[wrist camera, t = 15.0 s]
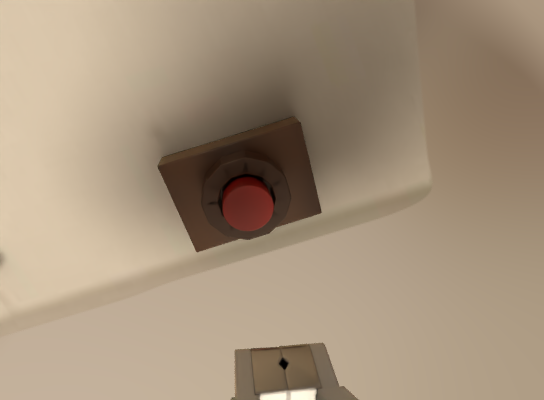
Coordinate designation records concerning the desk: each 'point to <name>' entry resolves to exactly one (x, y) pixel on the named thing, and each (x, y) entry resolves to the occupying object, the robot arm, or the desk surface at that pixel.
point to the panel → (235, 164)
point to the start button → (247, 204)
